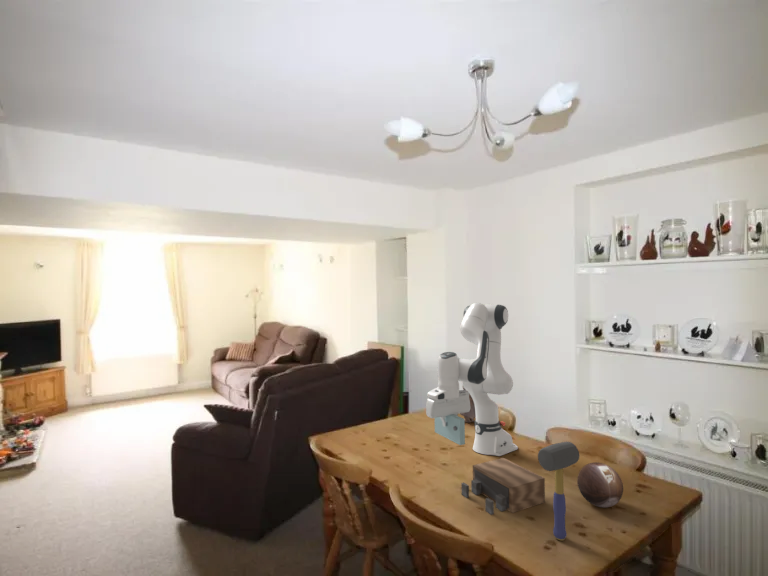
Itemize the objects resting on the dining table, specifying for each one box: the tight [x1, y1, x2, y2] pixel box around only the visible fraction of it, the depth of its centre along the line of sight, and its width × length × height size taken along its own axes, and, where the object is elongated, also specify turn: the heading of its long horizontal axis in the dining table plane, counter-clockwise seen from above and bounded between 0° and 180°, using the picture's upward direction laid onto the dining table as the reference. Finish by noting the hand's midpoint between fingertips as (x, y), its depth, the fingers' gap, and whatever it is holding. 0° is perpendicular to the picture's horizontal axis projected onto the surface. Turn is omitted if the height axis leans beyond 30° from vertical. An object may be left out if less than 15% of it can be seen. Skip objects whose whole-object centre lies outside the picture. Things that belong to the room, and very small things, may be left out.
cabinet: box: [461, 457, 546, 516], centre depth 166 cm, size 24×22×9 cm
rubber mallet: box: [537, 441, 580, 541], centre depth 138 cm, size 12×8×30 cm, turn 120°
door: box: [434, 414, 466, 446], centre depth 180 cm, size 3×18×10 cm, turn 27°
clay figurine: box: [460, 385, 476, 424], centre depth 259 cm, size 13×10×25 cm
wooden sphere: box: [576, 461, 624, 508], centre depth 159 cm, size 15×15×15 cm
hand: (448, 425), depth 180 cm, fingers closed on door, 2 cm apart
